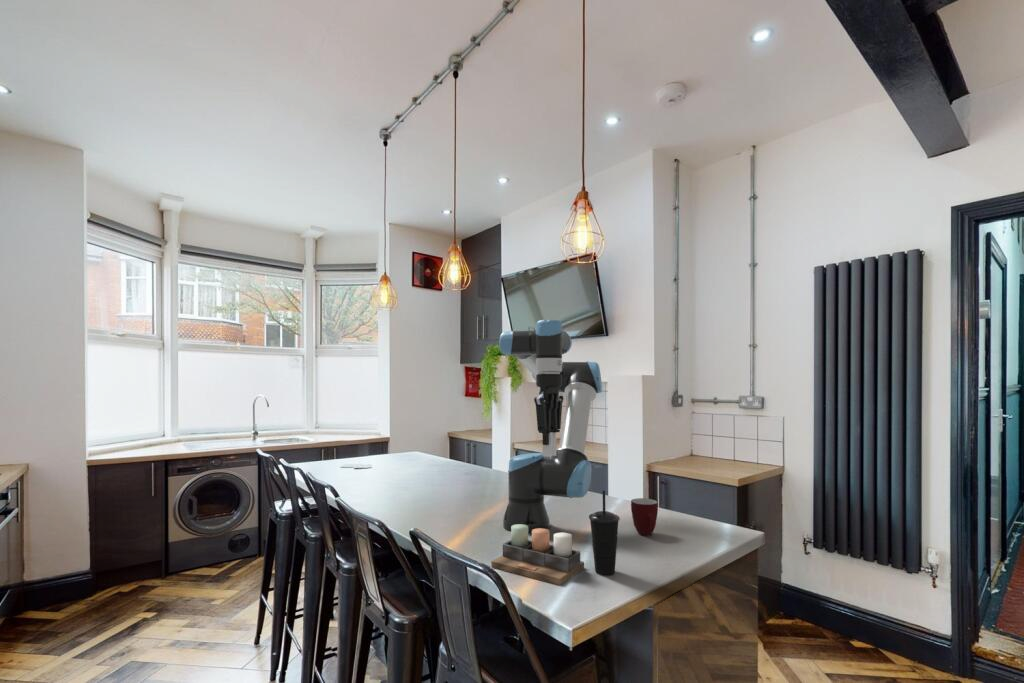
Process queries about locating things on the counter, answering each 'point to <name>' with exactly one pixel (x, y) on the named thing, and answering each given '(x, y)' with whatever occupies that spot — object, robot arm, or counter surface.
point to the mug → (644, 515)
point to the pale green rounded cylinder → (519, 535)
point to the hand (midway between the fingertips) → (549, 455)
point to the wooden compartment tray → (538, 563)
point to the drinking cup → (604, 540)
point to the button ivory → (563, 545)
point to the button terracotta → (540, 540)
